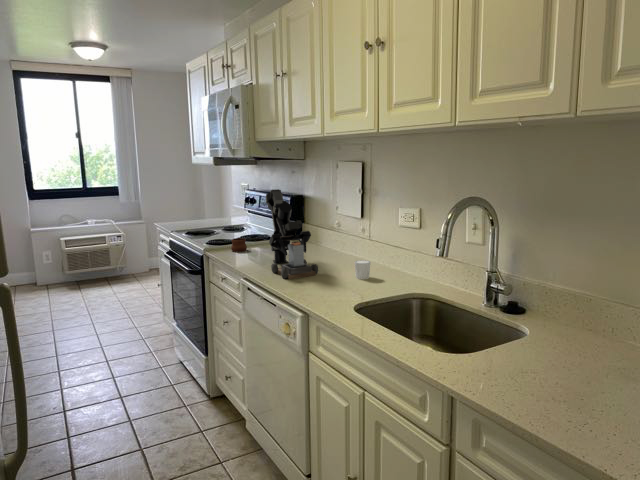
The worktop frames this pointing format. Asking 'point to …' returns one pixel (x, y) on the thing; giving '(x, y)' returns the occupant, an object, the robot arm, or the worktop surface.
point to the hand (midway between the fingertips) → (296, 253)
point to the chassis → (295, 270)
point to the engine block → (296, 255)
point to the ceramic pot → (238, 245)
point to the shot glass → (362, 269)
